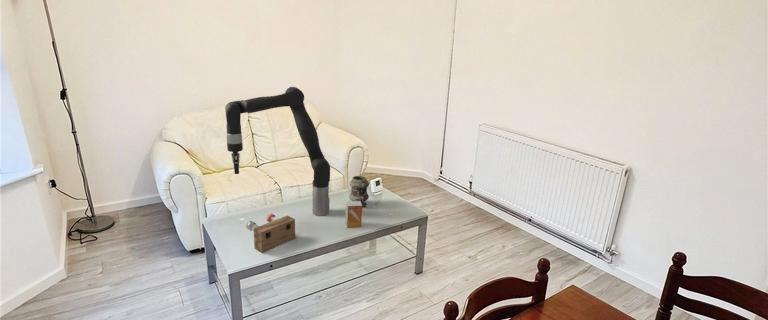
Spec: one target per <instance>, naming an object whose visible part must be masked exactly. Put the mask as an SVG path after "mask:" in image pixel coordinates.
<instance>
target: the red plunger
mask: <svg viewBox="0 0 768 320" xmlns="http://www.w3.org/2000/svg"><path fill="white" fill-rule="evenodd" d="M277 219H279V217H277V216H276V215H275V214H273V213H269V214H268V215H267V216H266V221H267V223H269V222H271V221H274V220H277ZM286 227H287V225H286Z"/></svg>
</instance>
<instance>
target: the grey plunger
mask: <svg viewBox="0 0 768 320" xmlns="http://www.w3.org/2000/svg"><path fill="white" fill-rule="evenodd" d="M258 226H259V225H258V224H257V223H256V222H254V221H253V220H249V221H248V222H246V226H245V227H246V229H247V230H249V231H251V232H254V228H256V227H258ZM266 235H267V233H266Z"/></svg>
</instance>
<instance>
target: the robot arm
mask: <svg viewBox="0 0 768 320" xmlns="http://www.w3.org/2000/svg"><path fill="white" fill-rule="evenodd" d="M304 101H305V95H304V93H303V91H302V90H301V89H300V88H298V87H296V86H290V87H288V88H287V89H286V90H285V92H284V93H281V94H277V95H267V96H259V97H253V98H249V99H245V100H235V101H230V102H228V103H227V104H226V105H225V108H224V109H225V118H226V119H225V120H226V148H227V151H228V152H230V153H231V160H232V161H231V162H232V163H233V169H234V175H239V174H240V162H241V161H240V158H241V155H240V152H242V151H243V150H244V147H243V146H244V145H243V134H242V125H241V114H254V113H257V112H263V111H266V110H271V109H276V108H277V109H278V108H284V107H289V108H290V110H291V112H292V115H293V118H294V122H295V125H296V129H297V132H298V134H299V136H300V137H299V138H300V140H301V141H302V143H303V146H304V148H305V149H306V152H307V153H308V157H309V159H310V160H309V161H310V165H311V168H312V170H313V180H312V209H311V210H312V214H313V215H314V216H317V217H318V216H320V217H322V216H326V215H328V214H330V201H331V200H330V198H329V196H330V195H329V192H330V191H329V189H330V180H331V165H330V163H329V161H328V160H327V159H326V158H325V155H324V153H323V151H322V149H321V146H320V140H319V135H318V132H317V129H316V127H315V124H314V122H313V120H312V118H311V116H310V115H309V113H308V111H307V109H306V107H305V104H304Z"/></svg>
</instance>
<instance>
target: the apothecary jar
mask: <svg viewBox="0 0 768 320" xmlns="http://www.w3.org/2000/svg"><path fill="white" fill-rule="evenodd" d="M369 186H370V183H369V181H368V180H367V177H366V176H364V175H354V176H352V179H351V180H350V181H349V187H351V191H350V194H349V195H348V198H349V199H350V202H351V201H361V204H362V209H364V208H366V207H367V203H366V201H368V200H369V197H370V196H369V193H368V192H367V190H368V187H369ZM363 207H364V208H363Z"/></svg>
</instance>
